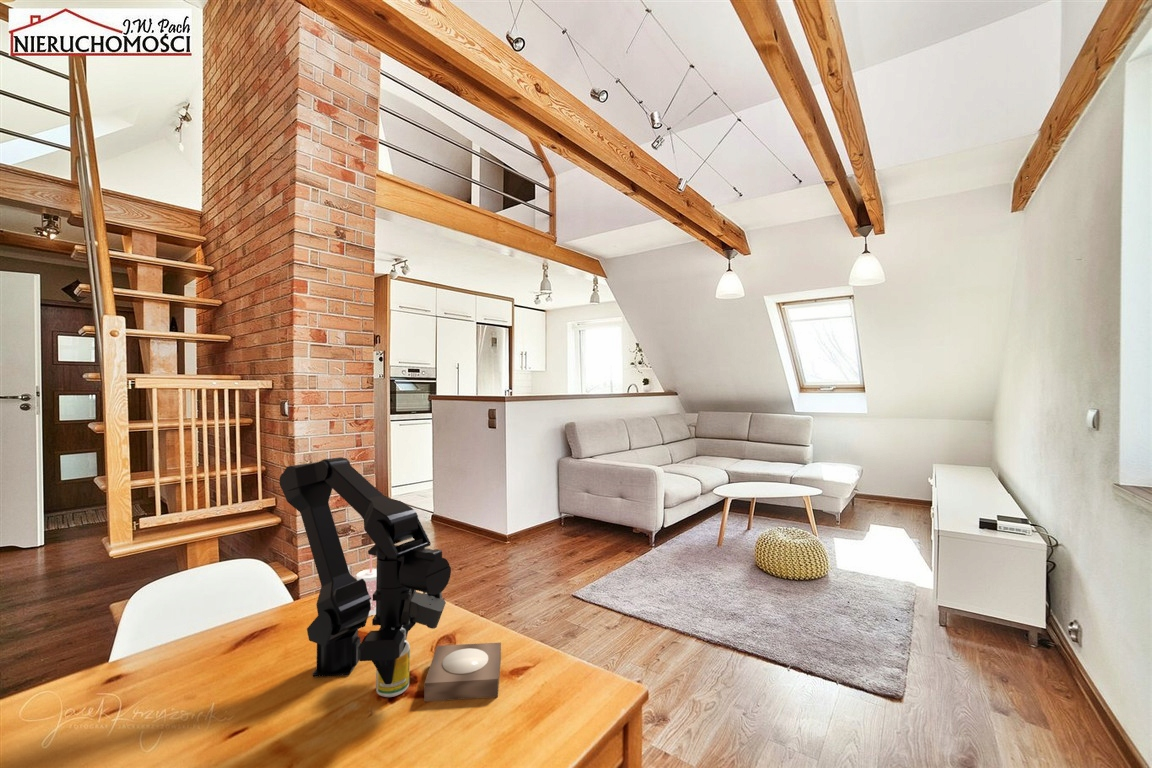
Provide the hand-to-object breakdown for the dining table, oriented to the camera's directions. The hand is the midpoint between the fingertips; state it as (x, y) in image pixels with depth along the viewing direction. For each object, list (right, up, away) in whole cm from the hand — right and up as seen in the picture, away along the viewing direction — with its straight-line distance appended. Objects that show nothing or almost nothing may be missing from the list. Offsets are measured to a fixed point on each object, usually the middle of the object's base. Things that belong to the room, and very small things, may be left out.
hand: (393, 673), depth 84 cm
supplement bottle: (0, -3, 0) cm, 3 cm away
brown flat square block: (+12, -3, +3) cm, 12 cm away
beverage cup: (-16, -3, +29) cm, 34 cm away
